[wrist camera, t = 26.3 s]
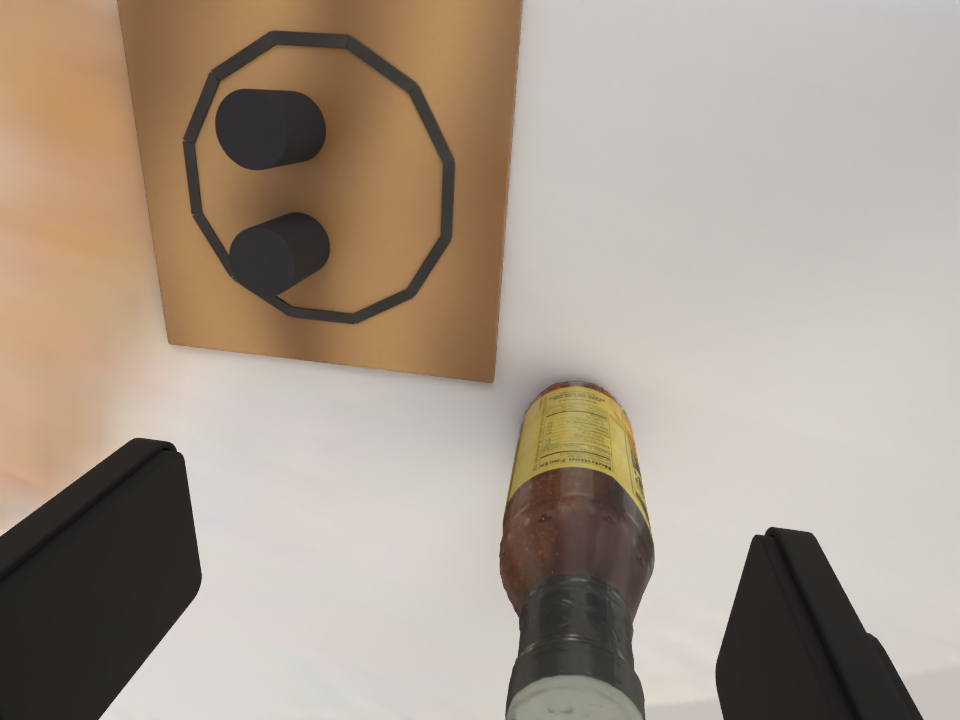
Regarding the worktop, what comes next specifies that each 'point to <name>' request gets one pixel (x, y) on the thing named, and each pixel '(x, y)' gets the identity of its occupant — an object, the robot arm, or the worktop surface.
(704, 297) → the worktop surface
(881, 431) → the worktop surface
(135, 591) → the robot arm
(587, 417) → the sauce bottle
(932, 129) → the worktop surface
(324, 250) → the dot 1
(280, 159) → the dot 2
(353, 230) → the board
